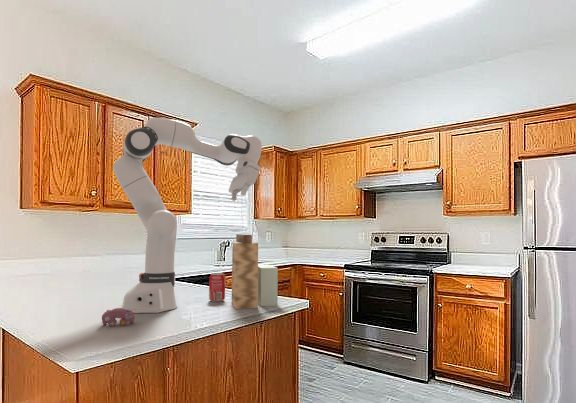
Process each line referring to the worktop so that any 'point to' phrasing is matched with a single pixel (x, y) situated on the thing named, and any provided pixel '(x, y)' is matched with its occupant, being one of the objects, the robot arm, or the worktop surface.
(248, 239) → the walnut rod
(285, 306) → the worktop surface
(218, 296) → the soda can
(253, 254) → the oak stand
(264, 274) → the pale green block
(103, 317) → the video game controller
